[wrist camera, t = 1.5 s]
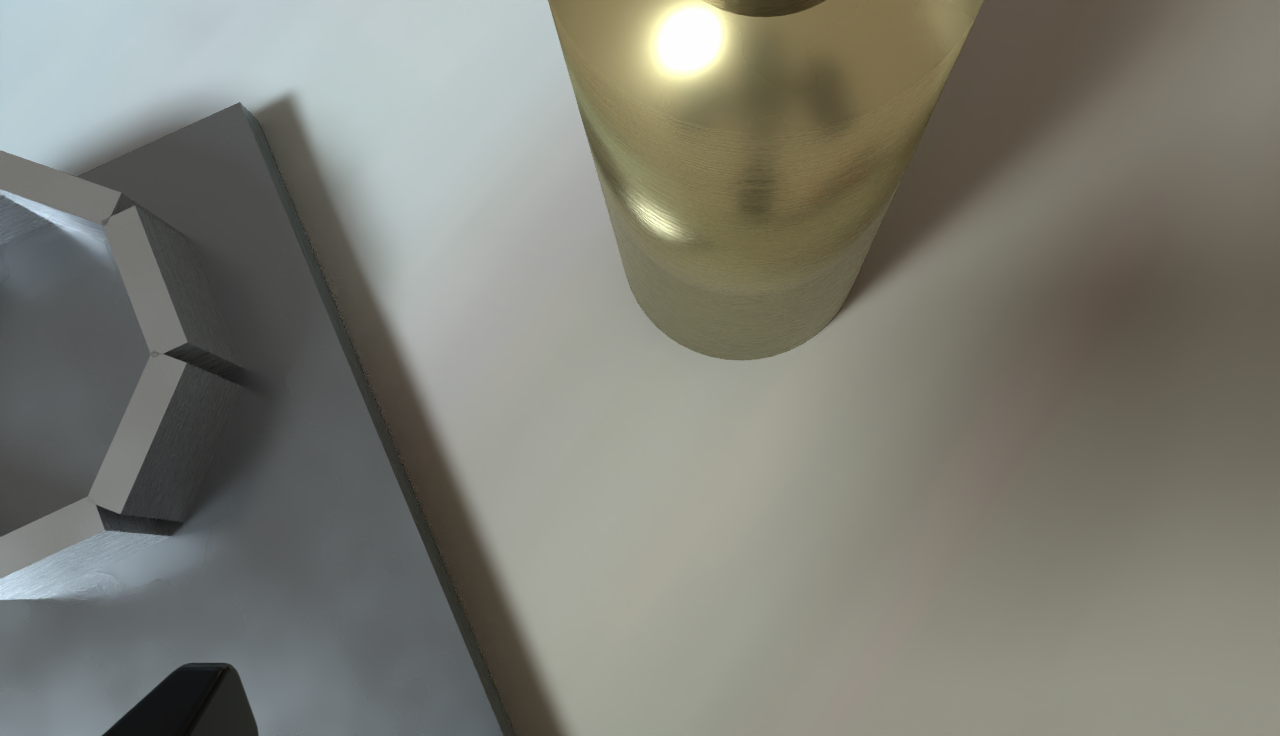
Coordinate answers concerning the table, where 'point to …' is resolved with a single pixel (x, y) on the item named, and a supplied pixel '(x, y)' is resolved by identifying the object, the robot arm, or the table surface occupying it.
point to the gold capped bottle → (753, 148)
